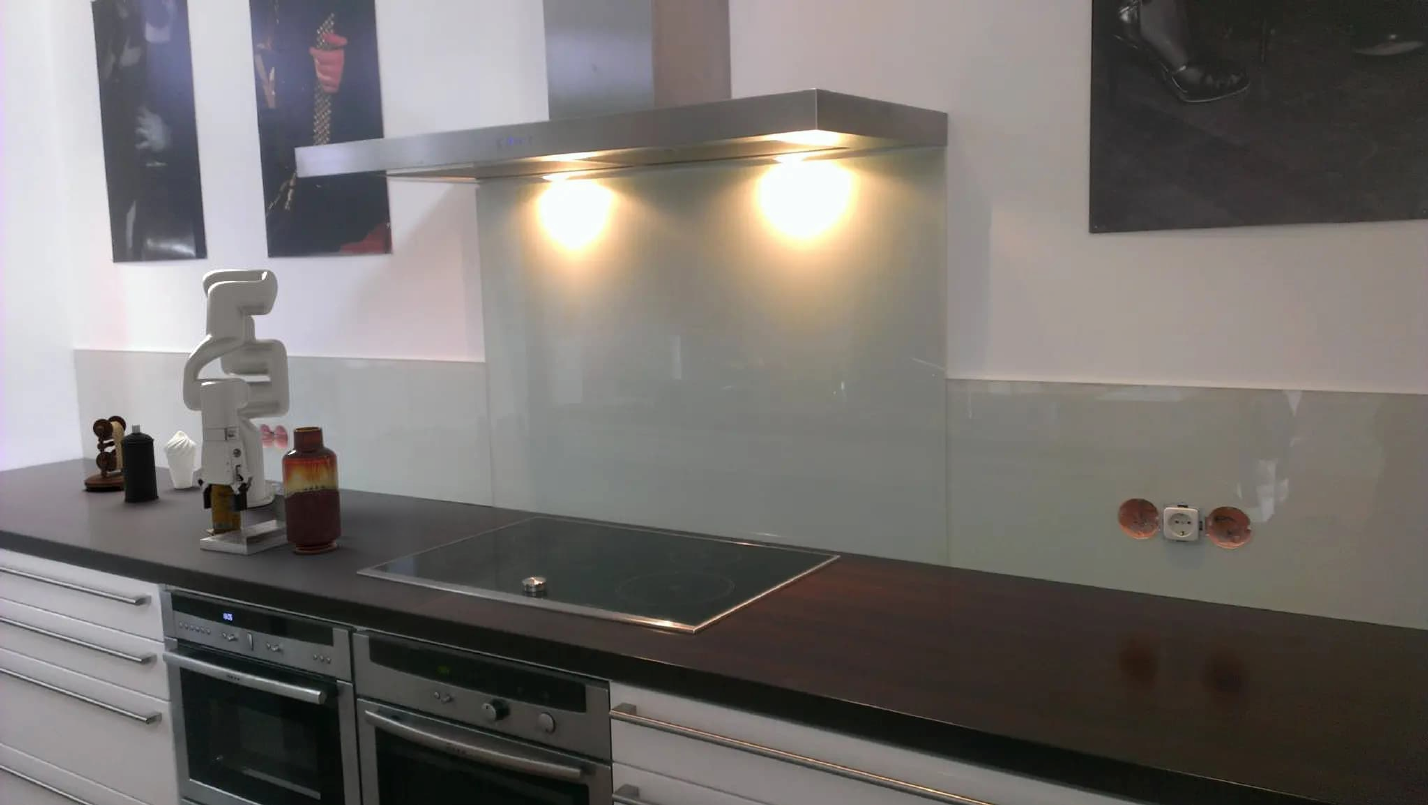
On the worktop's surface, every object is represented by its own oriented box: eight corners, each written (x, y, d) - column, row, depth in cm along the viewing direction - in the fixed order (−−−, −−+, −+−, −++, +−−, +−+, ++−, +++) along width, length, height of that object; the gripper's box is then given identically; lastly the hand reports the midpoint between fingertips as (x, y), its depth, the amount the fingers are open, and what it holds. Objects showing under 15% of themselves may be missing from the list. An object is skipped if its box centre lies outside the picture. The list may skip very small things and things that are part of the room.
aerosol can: (165, 498, 291) (159, 423, 289) (135, 503, 284) (129, 427, 282) (147, 495, 296) (142, 422, 293) (117, 500, 289) (111, 425, 287)
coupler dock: (280, 526, 255) (278, 493, 254) (325, 531, 249) (323, 497, 248) (200, 548, 235) (197, 512, 234) (247, 554, 229) (244, 517, 228)
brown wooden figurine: (126, 492, 301) (120, 420, 298) (73, 492, 301) (67, 421, 298) (154, 481, 315) (148, 413, 313) (103, 482, 315) (97, 414, 313)
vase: (275, 553, 230) (267, 431, 227) (312, 541, 240) (305, 424, 237) (317, 557, 226) (310, 433, 223) (353, 545, 236) (346, 425, 233)
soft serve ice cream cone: (190, 490, 302) (186, 432, 300) (160, 490, 302) (156, 433, 300) (204, 484, 310) (200, 428, 308) (175, 484, 310) (171, 428, 308)
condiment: (238, 526, 257) (235, 475, 256) (249, 532, 250) (246, 480, 249) (205, 531, 252) (202, 480, 251) (216, 537, 246) (212, 485, 244)
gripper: (261, 434, 248) (266, 508, 250) (208, 431, 256) (212, 503, 257) (234, 438, 242) (239, 514, 243) (180, 435, 249) (185, 509, 251)
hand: (225, 509), depth 250 cm, fingers open, 9 cm apart
